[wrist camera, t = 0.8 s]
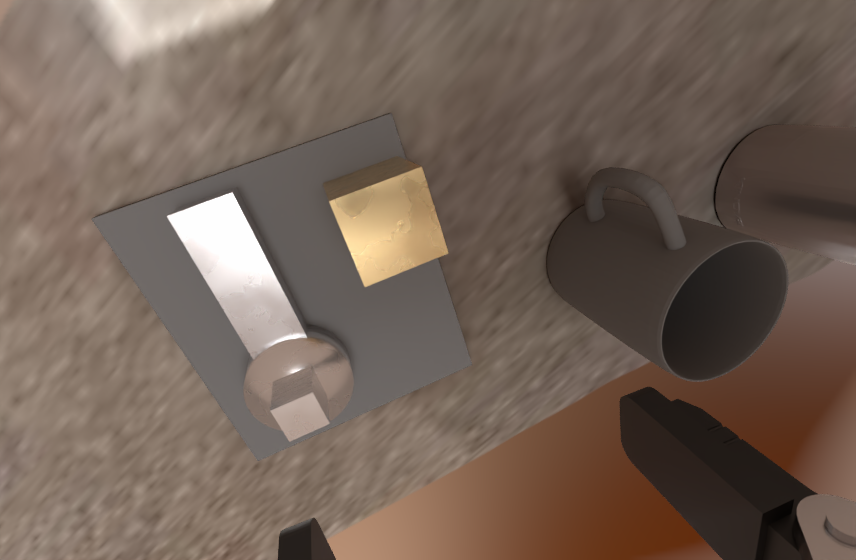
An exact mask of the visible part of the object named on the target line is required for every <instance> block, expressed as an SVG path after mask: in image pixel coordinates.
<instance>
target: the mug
mask: <svg viewBox="0 0 856 560" xmlns="http://www.w3.org/2000/svg"><path fill="white" fill-rule="evenodd" d="M607 187H614V188H619V189H622V190H625V191H628V192H630V193H632V194H634V195H636V196H637V197H639V198H640V199H641V200H643V201H644V202H645V203H646V204H647V205H648V207H645V206H641V205H637V204H633V203H628V202H624V201H618V200H602V199H603V195H604V192H605V190H606V189H607ZM547 271H548V276H549V279H550V282H551V284H552V286H553V288H554V289H555V291H556V292H557V293H558V294H559V295H560V296H561V297H562V298H563V299H564V300H565V301H567V302H568V303H569V304H570V305H572V306H573V307H574V308H576V309H577V310H578V311H580V312H581V313H583V314H584V315H585V316H587V317H588V318H589V319H591V320H592V321H594V322H595V323H596V324H598V325H599V326H601V327H602V328H603V329H605V330H606V331H608V332H609V333H610V334H612V335H613V336H615V337H616V338H618V339H619V340H620V341H622V342H623V343H625V344H626V345H628V346H629V347H631V348H632V349H634V350H635V351H636V352H638V353H639V354H641V355H642V356H644V357H645V358H647V359H648V360H650V361H651V362H653V363H655V364H656V365H658V366H659V367H661V368H662V369H664V370H665V371H667V372H670V373H671V374H673V375H675V376H676V377H678V378H681V379H684V380H688V381H696V382H697V381H707V380H711V379H715V378H717V377H720V376H722V375H725V374H726V373H728V372H730V371H732V370H734V369H735V368H737V367H738V366H740V365H741V364H742V363H743V362H745V361H746V360H747V359H748V358H749V357H750V356H751V355H753V354H754V353H755V351H757V350H758V348H759V347H760V346H761V345H762V344H763V343H764V341H765V340H766V339H767V337H768V335H769V334H770V333H771V331H772V330H773V328H774V326H775V324H776V323H777V321H778V319H779V317H780V315H781V312H782V309H783V307H784V304H785V301H786V296H787V290H788V270H787V266H786V263H785V260H784V258H783V256H782V255H781V253H780V252H779V251H778V250H777V249H776V248H775V247H774V246H772V245H770V244H769V243H767V242H765V241H763V240H760V239H758V238H755V237H752V236H749V235H746V234H743V233H740V232H737V231H733V230H730V229H726V228H723V227H719V226H716V225H712V224H709V223H705V222H702V221H698V220H694V219H691V218H687V217H683V216H680V215H677V213H676V210H675V208H674V205H673V203H672V201H671V199H670V197H669V195H668V193H667V192H666V190H665V189H664V188H663V187H662V186H661V185H660V184H659V183H658V182H656V181H655V180H654V179H652V178H650V177H649V176H647V175H644V174H642V173H639V172H637V171H633V170H629V169H624V168H612V167H610V168H605V169H601V170H599V171H598V172H597V173H596V174H595V175H594V176H593V177H592V178H591V180H590V182H589V184H588V187H587V190H586V195H585V205H583V206H582V207H580V208H578V209H577V210H575V211H574V212H573V213H571V214H570V215H569V216H568V217H567V218H566V219H565V220H564V221H563V222H562V224H561V225H560V226H559V228H558V229H557V231H556V233H555V235H554V236H553V239H552V241H551V244H550V246H549V250H548V256H547Z"/></svg>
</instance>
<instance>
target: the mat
mask: <svg viewBox="0 0 856 560" xmlns="http://www.w3.org/2000/svg"><path fill="white" fill-rule="evenodd" d="M396 156H398V157H401V158H403V159H405V160H406V157H405V154H404V151H403V148H402V144H401V141H400V138H399V135H398V132H397V129H396V126H395V123H394V120H393V116H392V113H389V114H386V115H383V116H380V117H377V118H375V119H372V120H369V121H366V122H363V123H360V124H357V125H355V126H352V127H349V128H346V129H343V130H340V131H338V132H335V133H332V134H329V135H326V136H323V137H321V138H318V139H315V140H312V141H309V142H306V143H303V144H301V145H298V146H295V147H292V148H289V149H286V150H284V151H281V152H278V153H275V154H272V155H269V156H267V157H264V158H261V159H258V160H255V161H252V162H249V163H247V164H244V165H241V166H238V167H235V168H232V169H230V170H227V171H224V172H221V173H218V174H215V175H212V176H210V177H207V178H204V179H201V180H198V181H195V182H193V183H190V184H187V185H184V186H181V187H178V188H176V189H173V190H170V191H167V192H164V193H161V194H158V195H156V196H153V197H150V198H147V199H144V200H141V201H139V202H136V203H133V204H130V205H127V206H124V207H122V208H119V209H116V210H113V211H110V212H107V213H104V214H102V215H99V216H96V217H94V218H92V221H93V222H94V224H95V225H96V226H97V228H98V229H99V231H100V232H101V234H102V235H103V237H104V238H105V240H106V241H107V242H108V244H109V245H110V247H111V248H112V250H113V251H114V253H115V254H116V256H117V257H118V258H119V260H120V261H121V263H122V264H123V266H124V267H125V269H126V270H127V271H128V273H129V274H130V276H131V277H132V279H133V280H134V282H135V283H136V285H137V286H138V287H139V289H140V290H141V292H142V293H143V295H144V296H145V298H146V299H147V301H148V302H149V303H150V305H151V306H152V308H153V309H154V311H155V312H156V314H157V315H158V317H159V318H160V319H161V321H162V322H163V324H164V325H165V327H166V328H167V330H168V331H169V333H170V334H171V335H172V337H173V338H174V340H175V341H176V343H177V344H178V346H179V347H180V349H181V350H182V351H183V353H184V354H185V356H186V357H187V359H188V360H189V362H190V363H191V365H192V366H193V367H194V369H195V370H196V372H197V373H198V375H199V376H200V378H201V379H202V381H203V382H204V383H205V385H206V386H207V388H208V389H209V391H210V392H211V394H212V395H213V397H214V398H215V399H216V401H217V402H218V404H219V405H220V407H221V408H222V410H223V411H224V413H225V414H226V415H227V417H228V418H229V420H230V421H231V423H232V424H233V426H234V427H235V429H236V430H237V431H238V433H239V434H240V436H241V437H242V439H243V440H244V442H245V443H246V444H247V446H248V447H249V449H250V450H251V452H252V453H253V455H254V456H255V458H256V459H257V460H258V461H259V460H261V459H264V458H266V457H268V456H270V455H273V454H275V453H277V452H279V451H282V450H284V449H286V448H288V447H290V446H293V445H295V444H297V443H299V442H302V441H304V440H306V439H308V438H310V437H313V436H315V435H317V434H319V433H322V432H324V431H326V430H328V429H330V428H333V427H335V426H337V425H339V424H342V423H344V422H346V421H348V420H351V419H353V418H355V417H357V416H359V415H362V414H364V413H366V412H368V411H371V410H373V409H375V408H377V407H379V406H382V405H384V404H386V403H388V402H391V401H393V400H395V399H397V398H399V397H402V396H404V395H406V394H408V393H411V392H413V391H415V390H417V389H419V388H422V387H424V386H426V385H428V384H431V383H433V382H435V381H437V380H440V379H442V378H444V377H446V376H448V375H451V374H453V373H455V372H457V371H460V370H462V369H464V368H466V367H468V366H471V365H472V362H471V359H470V356H469V353H468V350H467V347H466V344H465V341H464V338H463V334H462V331H461V328H460V325H459V322H458V319H457V316H456V313H455V309H454V306H453V303H452V300H451V297H450V294H449V291H448V288H447V285H446V281H445V278H444V275H443V272H442V269H441V266H440V263H439V260H438V258H436V259H433V260H431V261H428V262H426V263H423V264H421V265H418V266H416V267H414V268H411V269H409V270H406V271H404V272H401V273H399V274H396V275H394V276H391V277H389V278H387V279H384V280H382V281H379V282H377V283H374V284H372V285H369V286H367V287H365V286H364V284H363V282H362V279H361V277H360V274H359V272H358V270H357V267H356V265H355V262H354V260H353V258H352V255H351V253H350V250H349V248H348V246H347V243H346V241H345V239H344V236H343V234H342V231H341V229H340V227H339V224H338V222H337V219H336V217H335V215H334V212H333V210H332V208H331V205H330V203H329V200H328V197H327V195H326V192H325V189H324V186H323V183H325V182H328V181H330V180H333V179H336V178H339V177H341V176H344V175H347V174H349V173H352V172H355V171H358V170H360V169H363V168H366V167H369V166H371V165H374V164H377V163H379V162H382V161H385V160H388V159H390V158H393V157H396ZM235 187H237V188H238V190H239V192H240V194H241V196H242V198H243V200H244V202H245V204H246V206H247V208H248V210H249V212H250V214H251V216H252V218H253V219H254V221H255V223H256V225H257V227H258V229H259V231H260V233H261V235H262V237H263V239H264V241H265V243H266V245H267V247H268V249H269V251H270V253H271V255H272V257H273V259H274V261H275V263H276V265H277V267H278V268H279V270H280V272H281V274H282V276H283V278H284V280H285V282H286V284H287V286H288V288H289V290H290V292H291V294H292V296H293V298H294V300H295V302H296V304H297V306H298V308H299V310H300V312H301V314H302V316H303V317H304V319H305V321H306V323H307V324H309V325H315V326H319V327H322V328H324V329H327V330H328V331H330V332H332V333H333V334H335V335H336V336H337V337H338V338H339V339H340V340H341V341H342V342H343V344H344V345H345V347H346V349H347V352H348V355H349V359H350V364H351V369H352V373H353V379H354V386H353V392H352V395H351V398H350V400H349V402H348V404H347V405H346V407H345V408H344V409H343V411H342V412H341V413H340V414H339V415H338V416H336V417H335V418H334V419H333V420H331V421H330V424H328V425H326V426H324V427H321V428H319V429H317V430H315V431H312V432H310V433H308V434H306V435H304V436H301V437H299V438H297V439H295V440H292V441H290V442H289V440H288V439H287V437H286V436H285V434H284V432H283V431H281V430H277V429H273V428H271V427H268V426H266V425H265V424H263V423H261V422H260V421H259V420H257V419H256V418H255V417H254V416H253V415H252V414H251V412H250V411H249V409H248V407H247V406H246V403H245V400H244V394H243V387H244V381H245V376H246V371H247V366H248V361H249V358H250V353H249V352H248V350H247V348H246V347H245V345H244V343H243V342H242V340H241V338H240V337H239V335H238V333H237V332H236V330H235V328H234V327H233V325H232V324H231V322H230V320H229V319H228V317H227V315H226V314H225V312H224V310H223V309H222V307H221V305H220V304H219V302H218V300H217V299H216V297H215V295H214V294H213V292H212V290H211V289H210V287H209V285H208V284H207V282H206V280H205V279H204V277H203V275H202V274H201V272H200V270H199V269H198V267H197V266H196V264H195V262H194V261H193V259H192V257H191V256H190V254H189V252H188V251H187V249H186V247H185V246H184V244H183V242H182V241H181V239H180V237H179V236H178V234H177V232H176V231H175V229H174V227H173V226H172V224H171V222H170V221H169V219H168V217H167V216H168V215H169V214H170V213H171V212H173V211H174V210H175V209H177V208H179V207H182V206H185V205H188V204H191V203H193V202H196V201H199V200H202V199H205V198H207V197H210V196H213V195H216V194H219V193H221V192H224V191H227V190H230V189H232V188H235Z"/></svg>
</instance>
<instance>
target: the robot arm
mask: <svg viewBox="0 0 856 560" xmlns="http://www.w3.org/2000/svg"><path fill="white" fill-rule="evenodd" d="M715 203H716V211H717V214H718V217H719V219H720V221H721V222H722V224H723V225H724V226H725V227H726V228H727V229H730V230H733V231H737V232H740V233H743V234H746V235H749V236H752V237H755V238H758V239H761V240H765V241H768V242H772V243H776V244H778V245H782V246H786V247H789V248H793V249H797V250H800V251H804V252H808V253H811V254H815V255H819V256H822V257H826V258H830V259H833V260H837V261H841V262H844V263H848V264H852V265H856V127H838V126H808V125H770V126H765V127H763V128H760V129H758V130H756V131H755V132H753V133H751V134H750V135H748V136H747V137H746V138H745V139H744V140H743V141H742V142H741V143H740V144H739V145H738V146H737V147H736V148H735V150H734V151H733V152H732V153H731V155H730V156H729V158H728V160H727V162H726V163H725V165H724V167H723V169H722V172H721V174H720V177H719V180H718V184H717V188H716V198H715ZM620 424H621V425H620V426H621V442H622V445H623V448H624V450H625V452H626V454H627V456H628V458H629V459H630V461H631V462H632V463H633V464H634V465H635V466H636V468H637V469H638V470H639V471H640V472H641V473H642V474H643V475H644V476H645V477H646V478H647V479H648V480H649V481H650V482H651V483H652V484H653V486H654V487H655V488H656V489H657V490H658V491H659V492H660V493H661V494H662V495H663V496H664V497H665V498H666V499H667V501H668V502H670V504H671V505H672V506H673V507H674V508H675V509H676V510H677V511H678V512H679V513H680V514H681V515H682V517H683V518H684V519H685V520H686V521H687V522H688V523H689V524H690V525H691V526H692V527H693V528H694V529H695V530H696V531H697V533H698V534H699V535H700V536H701V537H702V538H703V539H704V540H705V541H706V542H707V543H708V544H709V545H710V546H711V547H712V548H713V550H714V551H715V552H716V553H717V554H718V555H719V556H720V557H721V558H722V559H723V560H856V502H854V501H851V500H848V499H845V498H842V497H838V496H833V495H825V494H817V493H815V492H813V491H812V490H810V489H809V488H807V487H806V486H805V485H803V484H802V483H800V482H799V481H798V480H797V479H795V478H794V477H793V476H791V475H790V474H789V473H787V472H786V471H785V470H783V469H782V468H781V467H779V466H778V465H776V464H775V463H774V462H772V461H771V460H770V459H768V458H767V457H766V456H764V455H763V454H762V453H760V452H759V451H758V450H756V449H755V448H753V447H752V446H751V445H750V444H748V443H747V442H746V441H744V440H743V439H742V440H740V439H739V438H738V436H737V435H736V434H735V433H733V432H732V431H730V430H729V429H728V428H727V427H723V426H722V424H721V423H720V422H719V421H717V420H716V419H715V418H713V417H712V416H711V415H709V414H708V413H706V412H705V411H704V410H703V409H701V408H698V407H696V406H693V405H691V404H689V403H686V402H684V401H681V400H679V399H676V400H674V401H670V400H668V399H667V398H666V397H665V396H663V395H662V394H660V393H659V392H658V391H657V390H655V389H654V388H652V387H646V388H643V389H640V390H638V391H636V392H633V393H630V394H628V395H625V396H623V397H621V399H620ZM278 560H336V559H335V556H334V554H333V552H332V550H331V548H330V546H329V544H328V542H327V540H326V538H325V536H324V534H323V532H322V530H321V528H320V526H319V524H318V522H317V520H316V519H315V518H311V519H309V520H306V521H304V522H301V523H299V524H296V525H294V526H291V527H289V528H286V529H284V530H282V531H281V533H280V536H279V549H278Z"/></svg>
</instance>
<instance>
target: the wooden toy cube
mask: <svg viewBox="0 0 856 560" xmlns="http://www.w3.org/2000/svg"><path fill="white" fill-rule="evenodd" d="M323 186H324V189H325V192H326V195H327V197H328V200H329V203H330V205H331V208H332V210H333V212H334V215H335V217H336V219H337V222H338V224H339V227H340V229H341V231H342V234H343V236H344V239H345V241H346V243H347V246H348V248H349V250H350V253H351V255H352V258H353V260H354V262H355V265H356V267H357V270H358V272H359V274H360V277H361V279H362V282H363V284H364V286H365V287H367V286H369V285H372V284H374V283H377V282H379V281H382V280H384V279H387V278H389V277H391V276H394V275H396V274H399V273H401V272H404V271H406V270H409V269H411V268H414V267H416V266H418V265H421V264H423V263H426V262H428V261H431V260H433V259H436V258H438V257H441V256H443V255H445V254H448V250H447V247H446V244H445V240H444V237H443V234H442V231H441V227H440V224H439V221H438V218H437V214H436V211H435V208H434V205H433V201H432V198H431V195H430V192H429V188H428V185H427V182H426V178H425V175H424V172H423V169H422V166H419V165H417V164H415V163H412V162H410V161H408V160H405V159H403V158H401V157H398V156H396V157H393V158H390V159H388V160H385V161H382V162H379V163H377V164H374V165H371V166H369V167H366V168H363V169H360V170H358V171H355V172H352V173H349V174H347V175H344V176H341V177H339V178H336V179H333V180H330V181H328V182H325V183H323Z"/></svg>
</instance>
